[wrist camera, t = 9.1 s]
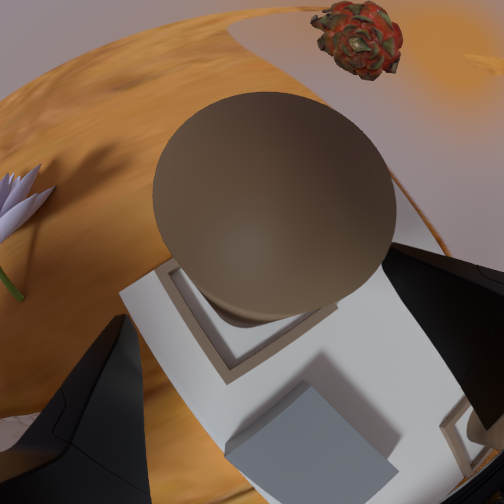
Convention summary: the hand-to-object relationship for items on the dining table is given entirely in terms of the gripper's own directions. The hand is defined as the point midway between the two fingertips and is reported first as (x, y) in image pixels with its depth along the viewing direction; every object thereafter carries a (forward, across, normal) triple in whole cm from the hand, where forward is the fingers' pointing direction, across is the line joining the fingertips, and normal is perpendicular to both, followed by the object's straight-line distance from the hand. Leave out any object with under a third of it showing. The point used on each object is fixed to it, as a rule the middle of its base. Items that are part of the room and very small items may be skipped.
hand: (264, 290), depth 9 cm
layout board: (+1, -6, +12) cm, 13 cm away
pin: (+6, 0, +5) cm, 8 cm away
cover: (-2, -1, +13) cm, 13 cm away
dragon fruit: (+21, -17, -9) cm, 28 cm away
